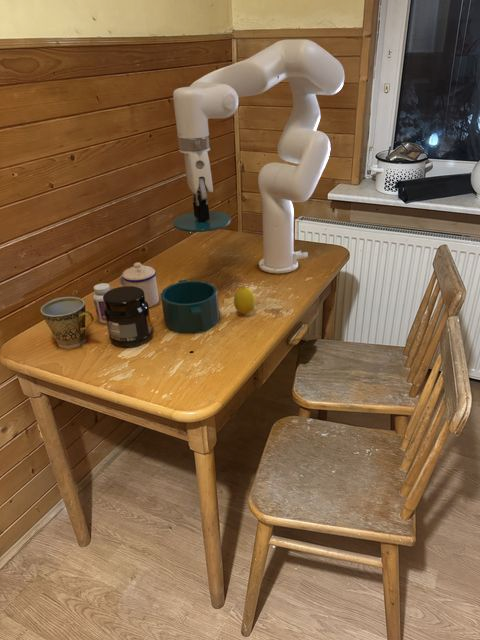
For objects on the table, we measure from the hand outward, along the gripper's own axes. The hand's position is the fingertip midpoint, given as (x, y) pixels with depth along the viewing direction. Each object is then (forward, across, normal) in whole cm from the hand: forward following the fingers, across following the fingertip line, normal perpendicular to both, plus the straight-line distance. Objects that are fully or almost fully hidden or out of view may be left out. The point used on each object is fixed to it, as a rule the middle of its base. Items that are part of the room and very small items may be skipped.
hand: (202, 217), depth 133 cm
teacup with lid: (+23, +4, +20) cm, 30 cm away
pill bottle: (+22, -4, +29) cm, 37 cm away
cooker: (+22, -13, +8) cm, 27 cm away
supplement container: (+22, -16, +24) cm, 37 cm away
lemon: (+23, -15, -6) cm, 28 cm away
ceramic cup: (+22, -14, +37) cm, 45 cm away
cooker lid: (+1, 0, 0) cm, 1 cm away
